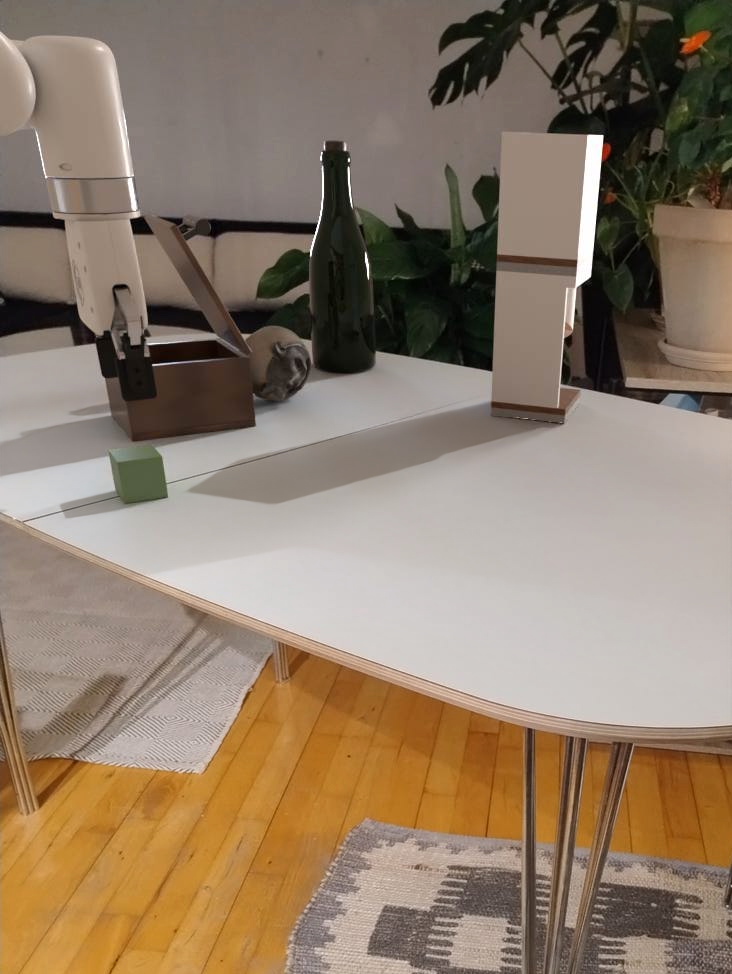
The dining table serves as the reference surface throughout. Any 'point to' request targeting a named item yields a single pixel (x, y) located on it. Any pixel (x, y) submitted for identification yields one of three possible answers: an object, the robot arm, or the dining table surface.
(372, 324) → the dark green glass bottle
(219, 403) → the chest
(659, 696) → the dining table surface
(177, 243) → the chest door
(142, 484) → the block
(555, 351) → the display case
